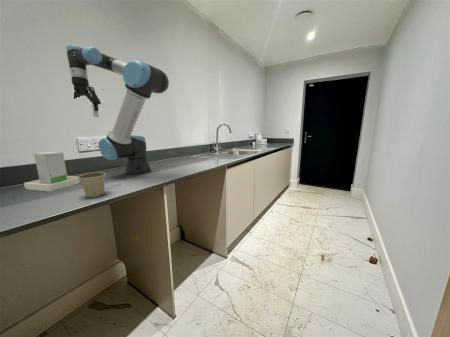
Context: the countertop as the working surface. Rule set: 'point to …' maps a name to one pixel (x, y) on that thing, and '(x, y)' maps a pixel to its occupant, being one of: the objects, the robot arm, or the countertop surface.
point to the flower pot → (93, 183)
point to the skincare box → (51, 167)
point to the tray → (52, 187)
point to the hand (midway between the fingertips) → (86, 117)
